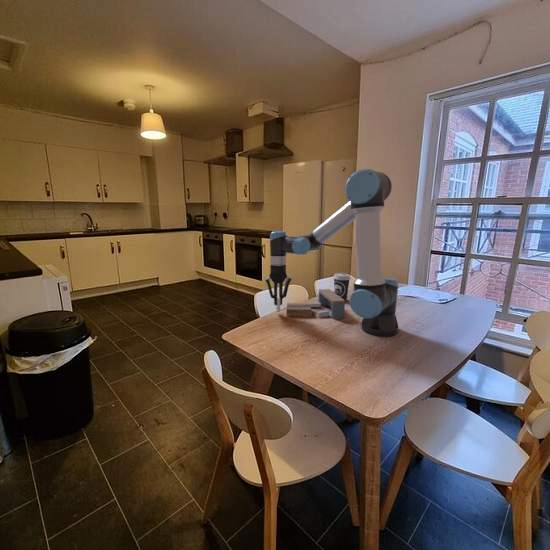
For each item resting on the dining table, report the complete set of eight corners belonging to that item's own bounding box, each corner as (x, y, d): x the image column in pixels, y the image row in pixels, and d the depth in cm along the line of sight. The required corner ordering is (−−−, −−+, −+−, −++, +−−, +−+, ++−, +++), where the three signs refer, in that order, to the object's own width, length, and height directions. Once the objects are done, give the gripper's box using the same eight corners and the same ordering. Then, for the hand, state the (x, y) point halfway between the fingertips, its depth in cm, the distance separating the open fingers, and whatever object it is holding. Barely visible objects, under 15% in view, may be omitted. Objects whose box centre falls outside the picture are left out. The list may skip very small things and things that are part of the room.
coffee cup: (351, 302, 162) (352, 276, 159) (333, 302, 162) (334, 276, 159) (347, 297, 171) (348, 272, 168) (330, 297, 171) (331, 272, 168)
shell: (311, 317, 142) (311, 309, 141) (286, 316, 142) (286, 309, 141) (310, 311, 150) (310, 303, 149) (287, 310, 151) (287, 303, 150)
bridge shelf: (343, 317, 140) (344, 300, 138) (319, 319, 138) (320, 301, 136) (328, 304, 160) (329, 289, 158) (307, 305, 157) (307, 290, 155)
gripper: (289, 262, 143) (289, 307, 149) (263, 263, 141) (263, 309, 146) (293, 265, 136) (292, 312, 141) (265, 266, 134) (266, 314, 139)
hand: (278, 311), depth 144 cm, fingers closed
